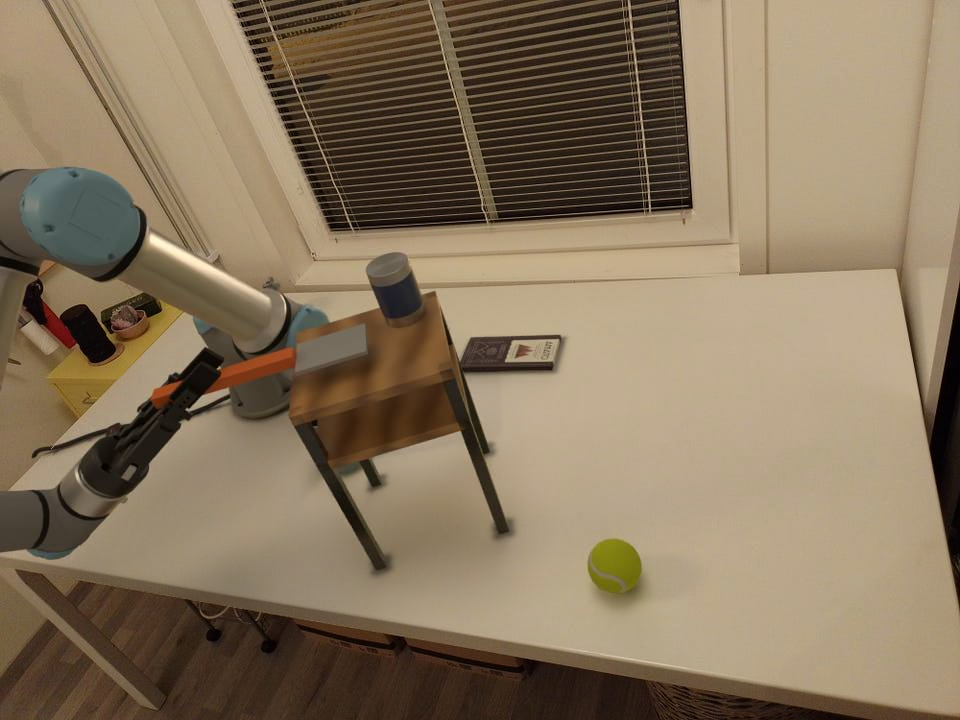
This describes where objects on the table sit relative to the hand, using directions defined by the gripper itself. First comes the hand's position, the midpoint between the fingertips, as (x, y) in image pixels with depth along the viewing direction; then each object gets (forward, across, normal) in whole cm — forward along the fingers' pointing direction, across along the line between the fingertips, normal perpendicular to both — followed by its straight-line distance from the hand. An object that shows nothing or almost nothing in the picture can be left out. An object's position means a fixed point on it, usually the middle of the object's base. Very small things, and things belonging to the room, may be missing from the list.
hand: (212, 361), depth 84 cm
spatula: (+2, 0, -5) cm, 6 cm away
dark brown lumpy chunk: (-57, -42, -10) cm, 71 cm away
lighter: (-28, -70, -27) cm, 81 cm away
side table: (-3, -2, -41) cm, 41 cm away
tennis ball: (+15, +20, -52) cm, 58 cm away
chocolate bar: (+12, -32, -50) cm, 61 cm away
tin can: (+17, -7, -17) cm, 25 cm away
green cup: (-16, -18, -34) cm, 42 cm away
